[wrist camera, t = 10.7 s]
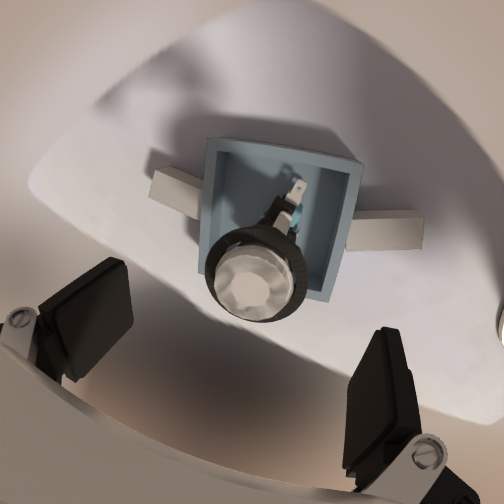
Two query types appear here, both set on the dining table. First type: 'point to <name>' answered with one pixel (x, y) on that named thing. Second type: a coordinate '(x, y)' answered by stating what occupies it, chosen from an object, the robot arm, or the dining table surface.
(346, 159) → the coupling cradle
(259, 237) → the push button
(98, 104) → the dining table surface
